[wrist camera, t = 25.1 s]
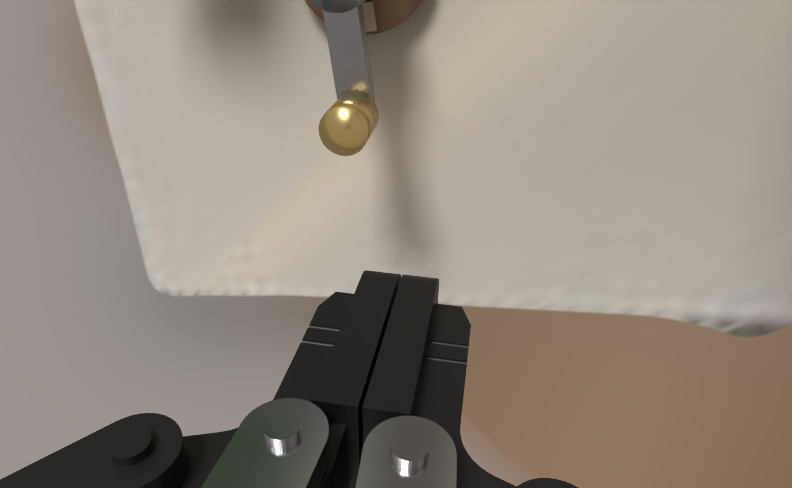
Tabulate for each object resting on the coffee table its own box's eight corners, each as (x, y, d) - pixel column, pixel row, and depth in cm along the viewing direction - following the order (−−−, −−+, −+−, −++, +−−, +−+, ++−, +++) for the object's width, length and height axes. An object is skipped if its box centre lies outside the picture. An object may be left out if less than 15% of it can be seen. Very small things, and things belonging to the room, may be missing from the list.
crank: (294, -74, 31) (265, -70, 27) (373, -84, 30) (353, -81, 27) (330, 131, 37) (310, 157, 33) (397, 128, 36) (384, 154, 32)
